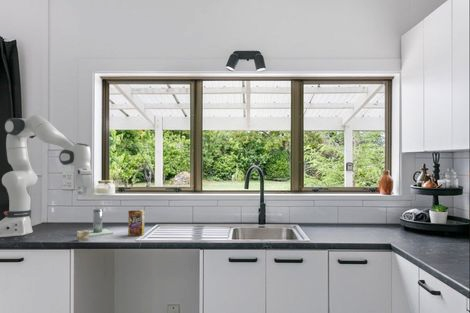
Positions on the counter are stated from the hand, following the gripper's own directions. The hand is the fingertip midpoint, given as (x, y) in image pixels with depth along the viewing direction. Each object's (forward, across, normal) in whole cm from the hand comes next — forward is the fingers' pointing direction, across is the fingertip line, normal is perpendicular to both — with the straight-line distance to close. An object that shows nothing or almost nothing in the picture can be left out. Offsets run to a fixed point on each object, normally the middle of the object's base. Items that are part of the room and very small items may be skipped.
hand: (81, 194), depth 191 cm
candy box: (+26, +10, +29) cm, 40 cm away
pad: (+25, -9, +12) cm, 29 cm away
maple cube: (+25, +4, 0) cm, 26 cm away
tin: (+24, -9, +12) cm, 28 cm away
